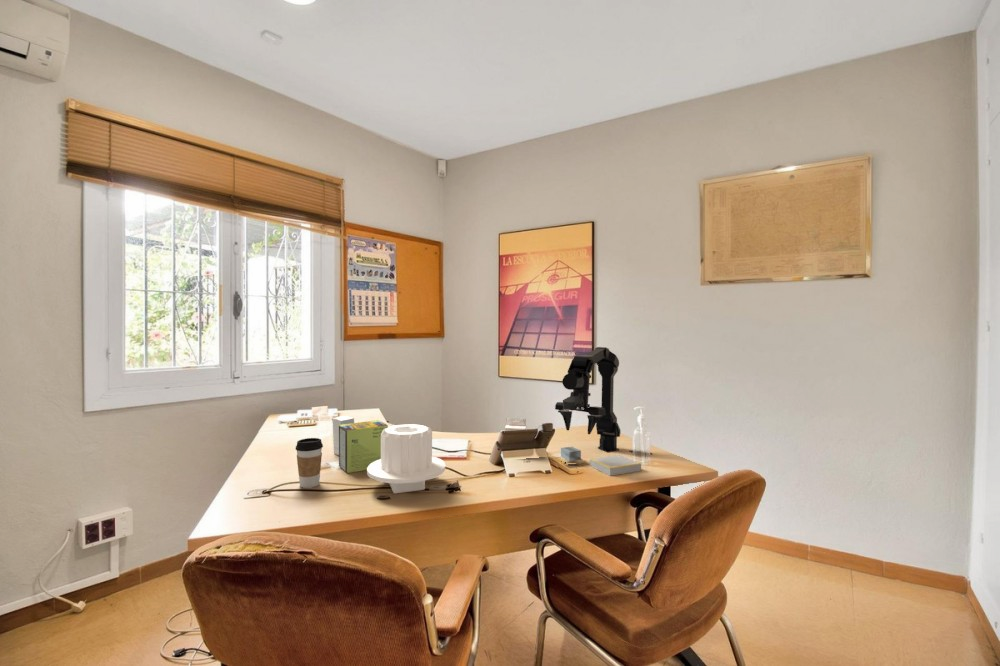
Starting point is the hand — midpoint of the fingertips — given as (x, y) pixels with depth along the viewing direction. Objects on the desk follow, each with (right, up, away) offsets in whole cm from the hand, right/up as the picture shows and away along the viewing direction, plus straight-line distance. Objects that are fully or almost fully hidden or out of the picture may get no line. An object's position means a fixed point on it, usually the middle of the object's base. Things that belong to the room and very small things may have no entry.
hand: (578, 432), depth 172 cm
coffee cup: (-92, -14, -18) cm, 94 cm away
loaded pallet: (-1, -13, +8) cm, 16 cm away
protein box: (-80, -13, +2) cm, 81 cm away
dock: (+14, -14, +1) cm, 20 cm away
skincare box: (-92, -12, +16) cm, 94 cm away
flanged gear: (-59, -14, -19) cm, 64 cm away
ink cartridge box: (-23, -13, +16) cm, 31 cm away
